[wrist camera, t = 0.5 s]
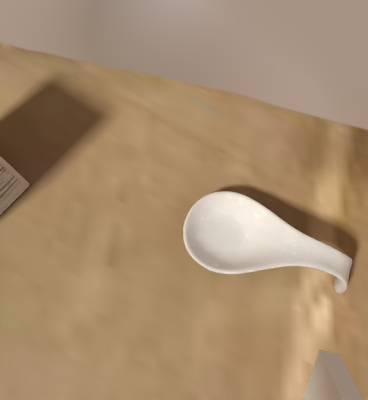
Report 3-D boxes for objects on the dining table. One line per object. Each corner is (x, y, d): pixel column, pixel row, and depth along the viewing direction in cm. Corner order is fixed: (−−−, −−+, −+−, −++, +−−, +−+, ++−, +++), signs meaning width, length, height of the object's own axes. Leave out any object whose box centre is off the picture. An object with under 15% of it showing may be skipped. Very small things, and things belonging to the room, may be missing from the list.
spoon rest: (172, 261, 49) (170, 251, 42) (197, 190, 53) (199, 170, 46) (335, 317, 46) (362, 316, 39) (349, 238, 50) (375, 224, 43)
